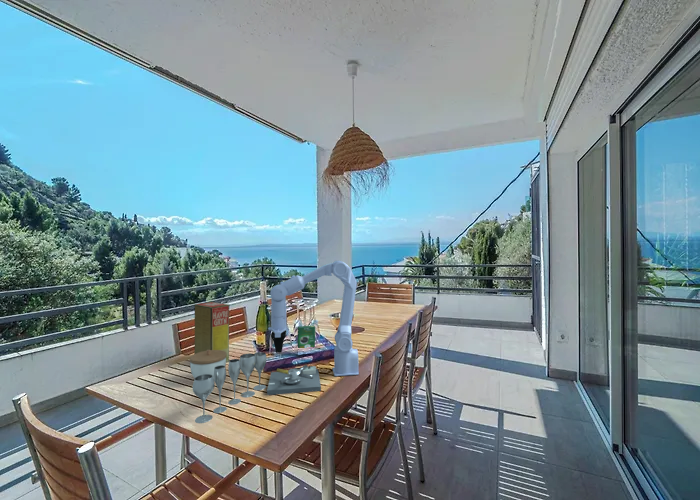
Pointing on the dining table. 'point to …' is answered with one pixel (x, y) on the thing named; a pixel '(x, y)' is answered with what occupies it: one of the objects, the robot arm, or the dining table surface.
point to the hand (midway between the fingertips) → (279, 351)
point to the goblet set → (246, 363)
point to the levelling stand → (303, 386)
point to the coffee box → (306, 336)
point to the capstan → (294, 375)
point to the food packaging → (212, 327)
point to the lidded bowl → (207, 362)
